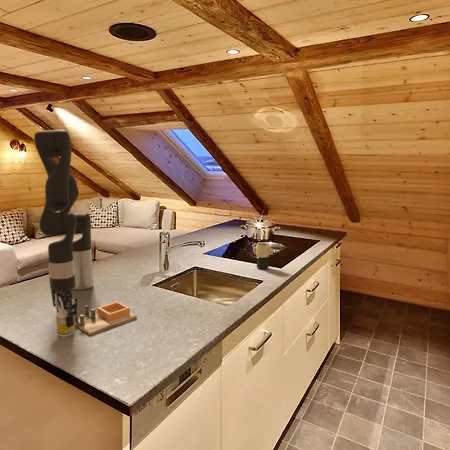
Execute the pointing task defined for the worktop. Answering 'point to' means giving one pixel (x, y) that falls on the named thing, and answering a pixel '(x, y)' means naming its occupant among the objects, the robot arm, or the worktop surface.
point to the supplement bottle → (63, 323)
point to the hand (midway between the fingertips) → (65, 323)
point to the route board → (102, 323)
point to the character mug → (262, 254)
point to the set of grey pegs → (81, 321)
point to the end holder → (121, 312)
